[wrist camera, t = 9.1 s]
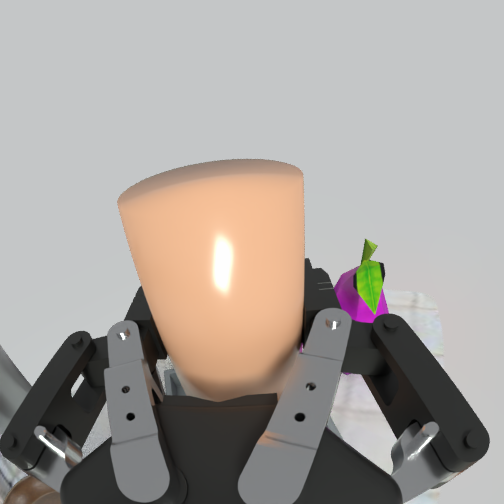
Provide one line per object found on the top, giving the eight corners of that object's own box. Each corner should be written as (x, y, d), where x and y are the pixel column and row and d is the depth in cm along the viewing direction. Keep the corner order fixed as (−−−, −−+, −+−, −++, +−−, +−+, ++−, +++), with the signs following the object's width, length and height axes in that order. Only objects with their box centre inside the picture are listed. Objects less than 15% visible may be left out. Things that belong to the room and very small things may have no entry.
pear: (290, 337, 36) (288, 230, 29) (354, 306, 40) (365, 207, 33) (344, 397, 27) (369, 286, 20) (410, 351, 31) (443, 245, 24)
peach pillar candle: (211, 464, 12) (100, 236, 6) (194, 386, 17) (129, 177, 10) (313, 435, 13) (341, 189, 7) (279, 365, 18) (267, 153, 11)
